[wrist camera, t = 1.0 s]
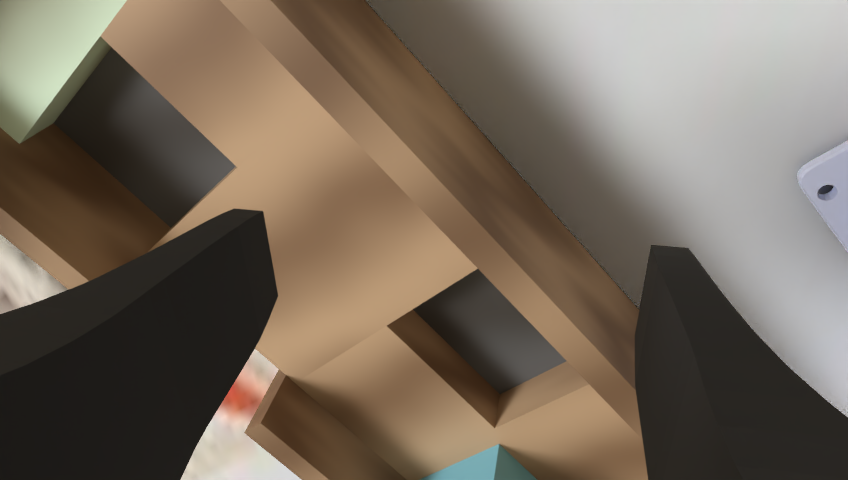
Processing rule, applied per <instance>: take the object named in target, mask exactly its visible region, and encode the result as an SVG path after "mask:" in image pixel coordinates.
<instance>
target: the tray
mask: <svg viewBox="0 0 848 480" xmlns="http://www.w3.org/2000/svg"><path fill="white" fill-rule="evenodd" d="M234 208H235V209H246V210H258V211H263V212H264V218H265V224H266V229H267V235H268V241H269V246H270V252H271V258H272V263H273V269H274V275H275V280H276V286H277V291H278V298H277V300H276V303H275V305H274V308H273V310H272V313H271V315H270V318H269V320H268V323H267V325H266V327H265V329H264V332H263V334H262V336H261V338H260V340H259V342H258V344H257V345H256V347H255V349H256V350H258V351H259V352H260V353H261V354H262V355H263V356H264V357H266V358H267V359H268V360H269V361H270V362H271V363H273V364H274V365H275V366H276V367H277V368H278V369H279V370H278V372H277V374H276V376H275V378H274V380H273V381H272V383H271V385H270V387H269V389H268V391H267V392H266V394H265V396H264V398H263V400H262V402H261V403H260V405H259V407H258V409H257V411H256V413H255V414H254V416H253V418H252V420H251V422H250V424H249V425H248V427H247V429H246V431H245V434H247V435H248V436H249V437H250V438H251V439H253V440H254V441H255V442H256V443H258V444H259V445H260V446H261V447H262V448H264V449H265V450H266V451H267V452H269V453H270V454H271V455H272V456H274V457H275V458H276V459H277V460H278V461H280V462H281V463H282V464H283V465H285V466H286V467H287V468H288V469H289V470H291V471H292V472H293V473H294V474H296V475H297V476H298V477H299V478H300V479H302V480H420V479H422V478H424V477H426V476H429V475H431V474H433V473H435V472H437V471H440V470H442V469H444V468H446V467H449V466H451V465H453V464H455V463H458V462H460V461H462V460H464V459H466V458H469V457H471V456H473V455H475V454H478V453H480V452H482V451H484V450H486V449H489V448H491V447H493V446H495V445H498V444H500V445H501V446H502V447H503V448H504V449H505V450H506V451H507V452H508V453H509V454H510V455H512V456H513V457H514V458H515V459H516V460H517V461H518V462H519V463H520V464H521V465H522V466H523V467H524V468H525V469H526V470H527V471H529V472H530V473H531V474H532V475H533V476H534V477H535V478H536V479H537V480H648V475H647V467H646V460H645V453H644V446H643V439H642V432H641V425H640V418H639V411H638V403H637V396H636V388H635V331H636V326H637V320H638V315H639V309H638V308H637V307H636V306H635V305H634V304H633V302H632V301H631V300H630V299H629V298H628V297H627V296H626V295H625V293H624V292H623V291H622V290H621V289H620V288H619V287H618V286H617V284H616V283H615V282H614V281H613V280H612V279H611V278H610V277H609V275H608V274H607V273H606V272H605V271H604V270H603V269H602V268H601V266H600V265H599V264H598V263H597V262H596V261H595V260H594V259H593V257H592V256H591V255H590V254H589V253H588V252H587V251H586V249H585V248H584V247H583V246H582V245H581V244H580V243H579V242H578V240H577V239H576V238H575V237H574V236H573V235H572V234H571V233H570V231H569V230H568V229H567V228H566V227H565V226H564V225H563V224H562V222H561V221H560V220H559V219H558V218H557V217H556V216H555V215H554V213H553V212H552V211H551V210H550V209H549V208H548V207H547V205H546V204H545V203H544V202H543V201H542V200H541V199H540V198H539V196H538V195H537V194H536V193H535V192H534V191H533V190H532V189H531V187H530V186H529V185H528V184H527V183H526V182H525V181H524V180H523V178H522V177H521V176H520V175H519V174H518V173H517V172H516V171H515V169H514V168H513V167H512V166H511V165H510V164H509V163H508V161H507V160H506V159H505V158H504V157H503V156H502V155H501V154H500V152H499V151H498V150H497V149H496V148H495V147H494V146H493V145H492V143H491V142H490V141H489V140H488V139H487V138H486V137H485V136H484V134H483V133H482V132H481V131H480V130H479V129H478V128H477V127H476V125H475V124H474V123H473V122H472V121H471V120H470V119H469V117H468V116H467V115H466V114H465V113H464V112H463V111H462V110H461V108H460V107H459V106H458V105H457V104H456V103H455V102H454V101H453V99H452V98H451V97H450V96H449V95H448V94H447V93H446V92H445V90H444V89H443V88H442V87H441V86H440V85H439V84H438V83H437V81H436V80H435V79H434V78H433V77H432V76H431V75H430V74H429V72H428V71H427V70H426V69H425V68H424V67H423V66H422V64H421V63H420V62H419V61H418V60H417V59H416V58H415V57H414V55H413V54H412V53H411V52H410V51H409V50H408V49H407V48H406V46H405V45H404V44H403V43H402V42H401V41H400V40H399V39H398V37H397V36H396V35H395V34H394V33H393V32H392V31H391V30H390V28H389V27H388V26H387V25H386V24H385V23H384V22H383V20H382V19H381V18H380V17H379V16H378V15H377V14H376V13H375V11H374V10H373V9H372V8H371V7H370V6H369V5H368V4H367V2H366V1H365V0H0V234H1V235H3V236H4V237H5V238H6V239H8V240H9V241H10V242H11V243H12V244H14V245H15V246H16V247H17V248H19V249H20V250H21V251H22V252H23V253H25V254H26V255H27V256H28V257H30V258H31V259H32V260H33V261H34V262H36V263H37V264H38V265H39V266H41V267H42V268H43V269H44V270H46V271H47V272H48V273H49V274H50V275H52V276H53V277H54V278H55V279H57V280H58V281H59V282H60V283H61V284H63V285H64V286H65V287H66V288H68V289H72V288H74V287H77V286H79V285H81V284H84V283H86V282H88V281H90V280H93V279H95V278H97V277H99V276H101V275H103V274H105V273H107V272H109V271H111V270H113V269H115V268H117V267H120V266H122V265H124V264H126V263H128V262H130V261H132V260H134V259H136V258H138V257H140V256H142V255H144V254H146V253H148V252H150V251H152V250H153V249H155V248H157V247H159V246H161V245H163V244H165V243H167V242H168V241H170V240H172V239H174V238H176V237H178V236H180V235H182V234H183V233H185V232H187V231H189V230H191V229H193V228H195V227H196V226H198V225H200V224H202V223H204V222H206V221H208V220H210V219H212V218H214V217H216V216H218V215H220V214H222V213H224V212H227V211H229V210H232V209H234Z"/></svg>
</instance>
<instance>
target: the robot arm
mask: <svg viewBox="0 0 848 480" xmlns="http://www.w3.org/2000/svg"><path fill="white" fill-rule="evenodd" d="M797 181H798V184H799V186H800V188H801V189H802V191H803V192H804V193H805V195H806V196H807V198H808V199H809V200H810V202H811V203H812V204H813V206H814V207H815V209H816V210H817V211H818V213H819V214H820V215H821V217H822V218H823V220H824V221H825V222H826V224H827V225H828V226H829V228H830V229H831V230H832V232H833V233H834V235H835V236H836V237H837V239H838V240H839V241H840V243H841V244H842V246H843V247H844V248H845V250H846V251H847V252H848V140H847V141H845V142H844V143H842V144H840V145H838V146H836V147H835V148H833V149H831V150H829V151H827V152H825V153H824V154H822V155H820V156H818V157H816V158H815V159H813V160H811V161H809V162H807V163H806V164H805V165H803V166H802V167H801V168H800V170H799V171H798V173H797ZM825 185H833V189H832V190H831V191H830V192H829V193H826V194H818V193H817V192H818V190H819V189H820V188H821V187H822V186H825ZM277 298H278V291H277V286H276V280H275V275H274V269H273V263H272V258H271V252H270V246H269V241H268V235H267V229H266V224H265V218H264V212H263V211H258V210H246V209H235V208H234V209H232V210H229V211H227V212H224V213H222V214H220V215H218V216H216V217H214V218H212V219H210V220H208V221H206V222H204V223H202V224H200V225H198V226H196V227H195V228H193V229H191V230H189V231H187V232H185V233H183V234H182V235H180V236H178V237H176V238H174V239H172V240H170V241H168V242H167V243H165V244H163V245H161V246H159V247H157V248H155V249H153V250H152V251H150V252H148V253H146V254H144V255H142V256H140V257H138V258H136V259H134V260H132V261H130V262H128V263H126V264H124V265H122V266H120V267H117V268H115V269H113V270H111V271H109V272H107V273H105V274H103V275H101V276H99V277H97V278H95V279H93V280H90V281H88V282H86V283H84V284H81V285H79V286H77V287H74V288H72V289H69V290H67V291H64V292H62V293H59V294H57V295H54V296H52V297H49V298H47V299H44V300H41V301H39V302H36V303H33V304H31V305H28V306H24V307H21V308H18V309H15V310H12V311H9V312H6V313H3V314H0V480H180V479H181V477H182V475H183V473H184V471H185V469H186V466H187V464H188V462H189V460H190V458H191V456H192V454H193V451H194V449H195V447H196V446H197V444H198V442H199V440H200V438H201V437H202V435H203V433H204V431H205V429H206V427H207V426H208V424H209V423H210V421H211V419H212V418H213V416H214V414H215V413H216V411H217V410H218V408H219V406H220V405H221V403H222V401H223V400H224V398H225V396H226V395H227V393H228V392H229V390H230V388H231V387H232V385H233V383H234V382H235V380H236V379H237V377H238V375H239V374H240V372H241V370H242V369H243V367H244V365H245V364H246V362H247V360H248V359H249V357H250V355H251V354H252V352H253V350H254V349H255V347H256V345H257V344H258V342H259V340H260V338H261V336H262V334H263V332H264V329H265V327H266V325H267V323H268V320H269V318H270V315H271V313H272V310H273V308H274V305H275V303H276V300H277ZM635 388H636V396H637V403H638V411H639V418H640V425H641V432H642V439H643V446H644V453H645V460H646V467H647V475H648V480H848V417H846V416H845V415H844V414H842V413H841V412H840V411H839V410H837V409H836V408H835V407H834V406H832V405H831V404H830V403H829V402H828V401H826V400H825V399H824V398H823V397H822V396H821V395H819V394H818V393H817V392H816V391H815V390H814V389H813V388H811V387H810V386H809V385H808V384H807V383H806V382H805V381H803V380H802V379H801V378H800V377H799V376H798V375H797V374H796V373H794V372H793V371H792V370H791V369H790V368H789V367H788V366H787V365H786V364H785V363H784V362H783V361H782V360H781V359H780V358H779V357H778V356H777V355H776V354H775V353H774V352H773V351H772V350H771V349H770V348H769V347H768V346H767V345H766V344H765V343H764V342H763V341H762V340H761V338H760V337H759V336H758V335H757V334H756V333H755V332H754V331H753V330H752V329H751V327H750V326H749V325H748V324H747V323H746V321H745V320H744V319H743V318H742V317H741V315H740V314H739V313H738V312H737V311H736V310H735V308H734V307H733V306H732V305H731V303H730V302H729V301H728V300H727V298H726V297H725V296H724V295H723V293H722V292H721V291H720V289H719V288H718V287H717V286H716V284H715V283H714V282H713V280H712V279H711V278H710V276H709V275H708V274H707V272H706V271H705V270H704V268H703V267H702V266H701V264H700V263H699V261H698V260H697V259H696V257H695V256H694V255H693V254H692V252H691V251H690V250H689V249H688V248H679V247H668V246H657V245H651V249H650V254H649V260H648V265H647V271H646V276H645V282H644V287H643V293H642V298H641V304H640V309H639V315H638V320H637V326H636V331H635Z"/></svg>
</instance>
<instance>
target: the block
mask: <svg viewBox="0 0 848 480" xmlns="http://www.w3.org/2000/svg"><path fill="white" fill-rule="evenodd" d="M420 480H537V479H536V478H535V477H534V476H533V475H532V474H531V473H530V472H529V471H527V470H526V469H525V468H524V467H523V466H522V465H521V464H520V463H519V462H518V461H517V460H516V459H515V458H514V457H513V456H512V455H510V454H509V453H508V452H507V451H506V450H505V449H504V448H503V447H502V446H501V445H500V444H498V445H495V446H493V447H491V448H489V449H486V450H484V451H482V452H480V453H478V454H475V455H473V456H471V457H469V458H466V459H464V460H462V461H460V462H458V463H455V464H453V465H451V466H449V467H446V468H444V469H442V470H440V471H437V472H435V473H433V474H431V475H429V476H426V477H424V478H422V479H420Z"/></svg>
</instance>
